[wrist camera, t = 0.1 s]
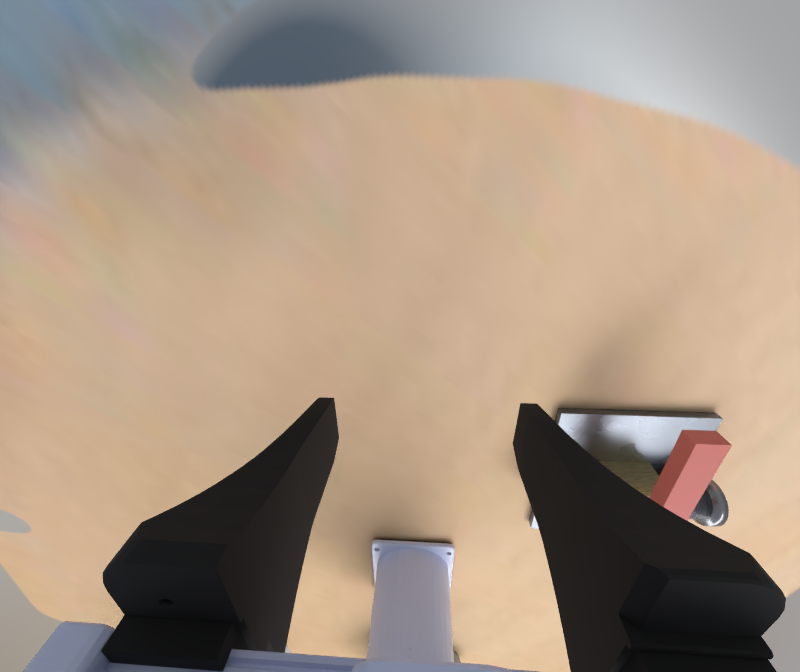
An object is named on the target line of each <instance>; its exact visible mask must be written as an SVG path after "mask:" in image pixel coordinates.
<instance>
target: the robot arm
mask: <svg viewBox="0 0 800 672" xmlns="http://www.w3.org/2000/svg"><path fill="white" fill-rule="evenodd" d="M338 440H339V434H338V426H337V418H336V410H335V402H334V398H318V399H317V400H316V401H315V402H314V403H313V404H312V405H311V406H310V407H309V408H308V409H307V410H306V411H305V412H304V413H303V414H302V415H301V416H300V417H299V418H298V419H297V420H296V421H295V422H294V423H293V424H292V425H291V426H290V427H289V428H288V429H287V430H286V431H285V432H284V433H283V434H282V435H281V436H279V437H278V438H277V439H276V440H275V441H274V442H273V443H272V444H270V445H269V446H268V447H267V448H266V449H265V450H263V451H262V452H261V453H260V454H259V455H257V456H256V457H255V458H253V459H252V460H251V461H249V462H248V463H247V464H245V465H244V466H242V467H241V468H240V469H238V470H237V471H235V472H234V473H232V474H230V475H229V476H227V477H226V478H224V479H223V480H221V481H220V482H218V483H217V484H215V485H213V486H212V487H210V488H208V489H207V490H205V491H203V492H201V493H200V494H198V495H196V496H194V497H192V498H191V499H189V500H187V501H185V502H183V503H181V504H179V505H177V506H175V507H173V508H171V509H169V510H167V511H165V512H163V513H161V514H159V515H157V516H155V517H153V518H150V519H148V520H146V521H144V522H142V523H141V524H140V525H139V526H138V528H137V529H136V530H135V531H134V532H133V534H132V535H131V536H130V537H129V539H128V540H127V541H126V543H125V544H124V545H123V546H122V548H121V549H120V550H119V552H118V553H117V554H116V555H115V557H114V558H113V559H112V561H111V562H110V563H109V564H108V566H107V567H106V569H105V570H104V572H103V583H104V585H105V587H106V589H107V591H108V593H109V594H110V595H111V597H112V598H113V599H114V601H115V602H116V603H117V605H118V606H119V608H120V609H121V610H122V612H123V613H124V614H125V615H124V617H123V618H122V620H121V621H120V623H119V624H118V626H117V627H116V629H114V628H113V627H110V626H108V625H104V624H98V623H83V622H69V621H65V622H63V623H61V624H60V625H59V626H58V627H57V629H56V630H55V631H54V633H53V634H52V635H51V636H50V638H49V639H48V640H47V642H46V643H45V644H44V645H43V646H42V648H41V649H40V650H39V652H38V653H37V654H36V655H35V657H34V658H33V659H32V660H31V662H30V663H29V664H28V666H27V667H26V668H25V669H24V671H23V672H538V671H524V670H510V669H506V668H501V667H496V666H491V665H483V664H470V663H456V662H454V654H453V639H452V623H451V607H450V587H451V578H452V569H453V560H454V551H455V550H454V545H452V544H448V543H430V542H412V541H394V540H373V541H372V558H373V571H374V585H375V589H374V598H373V606H372V615H371V624H370V633H369V642H368V650H367V659H361V658H347V657H333V656H320V655H306V654H293V653H285V649H286V644H287V638H288V633H289V628H290V623H291V617H292V613H293V608H294V603H295V598H296V593H297V589H298V584H299V579H300V575H301V570H302V566H303V562H304V557H305V553H306V549H307V545H308V541H309V536H310V532H311V528H312V525H313V521H314V518H315V515H316V512H317V509H318V506H319V503H320V500H321V498H322V495H323V492H324V489H325V486H326V483H327V480H328V477H329V474H330V471H331V469H332V466H333V463H334V459H335V454H336V449H337V444H338ZM513 446H514V451H515V456H516V461H517V465H518V469H519V472H520V475H521V478H522V481H523V484H524V487H525V490H526V493H527V496H528V498H529V501H530V504H531V507H532V510H533V513H534V515H535V518H536V521H537V524H538V527H539V530H540V533H541V537H542V540H543V544H544V548H545V552H546V556H547V560H548V564H549V568H550V573H551V577H552V581H553V586H554V590H555V595H556V599H557V604H558V609H559V613H560V618H561V623H562V628H563V633H564V638H565V643H566V648H567V654H568V659H569V664H570V670H571V672H776V670H775V669H774V667H773V666H772V665H771V663H770V662H769V660H768V659H772V658H773V653H772V651H771V649H770V648H769V647H768V645H767V644H766V642H765V641H764V640H763V638H762V637H761V636H762V635H763V634H764V632H765V631H766V630H767V629H768V628H769V627H770V626H771V625H772V624H773V623H774V622H775V621H776V620H777V619H778V618H779V617H780V615H781V614H782V612H783V611H784V608H785V601H786V598H785V596H784V594H783V592H782V591H781V589H780V588H779V587H778V586H777V585H776V583H775V582H774V581H773V580H772V579H771V577H770V576H769V575H768V574H767V573H766V572H765V570H764V569H763V568H762V567H761V566H760V564H759V563H758V562H757V561H756V560H755V559H754V557H753V556H752V555H751V554H750V553H748V552H746V551H744V550H742V549H740V548H738V547H736V546H734V545H732V544H730V543H728V542H726V541H724V540H722V539H720V538H718V537H716V536H714V535H712V534H710V533H708V532H706V531H704V530H703V529H701V528H699V527H697V526H695V525H694V524H692V523H690V522H688V521H687V520H685V519H683V518H681V517H679V516H678V515H676V514H674V513H673V512H671V511H669V510H668V509H666V508H664V507H663V506H661V505H659V504H658V503H656V502H655V501H653V500H652V499H650V498H649V497H647V496H645V495H644V494H642V493H641V492H639V491H638V490H636V489H635V488H633V487H632V486H631V485H629V484H628V483H626V482H625V481H624V480H622V479H621V478H620V477H618V476H617V475H616V474H614V473H613V472H611V471H610V470H609V469H608V468H606V467H605V466H604V465H602V464H601V463H600V462H599V461H598V460H596V459H595V458H594V457H593V456H592V455H591V454H589V453H588V452H587V451H586V450H585V449H584V448H582V447H581V446H580V445H579V444H578V443H577V442H576V441H575V440H574V439H573V438H571V437H570V436H569V435H568V434H567V433H566V432H565V431H564V430H563V429H562V428H561V427H560V426H559V425H558V424H557V423H556V422H555V421H554V420H553V419H552V418H551V417H550V416H549V415H548V414H547V413H546V412H545V411H544V410H543V409H542V408H541V407H540V406H539V405H538V404H526V403H521V404H520V409H519V414H518V420H517V425H516V430H515V435H514V441H513Z"/></svg>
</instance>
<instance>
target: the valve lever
mask: <svg viewBox="0 0 800 672" xmlns="http://www.w3.org/2000/svg"><path fill="white" fill-rule="evenodd" d="M731 446H732V445H731V444H730V443H729V442H728V441H726V440H725V439H724V438H723V437H722V436H721V435H720V434H719V433H718V432H717V431H708V430H682V431H681V433H680V435H679V437H678V439H677V442H676V444H675V446H674V448H673V450H672V452H671V454H670V456H669V458H668V460H667V462H666V464H665V466H664V468H663V470H662V472H661V474H660V476H659V479H658V481H657V483H656V485H655V487H654V489H653V491H652V493H651V495H650V497H649V498H650V499H652V500H653V501H655V502H656V503H658V504H659V505H661V506H663V507H664V508H666V509H668V510H669V511H671V512H673V513H674V514H676V515H678V516H679V517H681V518H683V519H685V520H688V519H689V517H690V515H691V514H692V512H693V510H694V509H695V507H696V505H697V503H698V502H699V500H700V498H701V497H702V495H703V493H704V492H705V490H706V488H707V486H708V485H709V483H710V481H711V480H712V478H713V476H714V475H715V473H716V471H717V470H718V468H719V466H720V464H721V463H722V461H723V459H724V458H725V456H726V454H727V453H728V451H729V449H730V448H731Z"/></svg>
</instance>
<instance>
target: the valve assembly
mask: <svg viewBox="0 0 800 672" xmlns="http://www.w3.org/2000/svg"><path fill="white" fill-rule="evenodd" d="M721 421H722V418H721V417H720V416H719V415H718V414H716V413H694V412H663V411H632V410H601V409H570V408H558V412H557V416H556V420H555V422H556V423H557V424H558V425H559V426H560V427H561V428H562V429H563V430H564V431H565V432H566V433H567V434H568V435H569V436H570V437H571V438H573V439H574V440H575V441H576V442H577V443H578V444H579V445H580V446H581V447H582V448H584V449H585V450H586V451H587V452H588V453H589V454H591V455H592V456H593V457H594V458H595V459H596V460H598V461H599V462H600V463H601V464H602V465H604V466H605V467H606V468H608V469H609V470H610V471H611V472H613V473H614V474H616V475H617V476H618V477H620V478H621V479H622V480H624V481H625V482H626V483H628V484H629V485H631V486H632V487H633V488H635V489H636V490H638V491H639V492H641V493H642V494H644V495H645V496H647V497H650V495H651V493H652V491H653V489H654V487H655V485H656V483H657V481H658V479H659V476H660V474H661V472H662V470H663V468H664V466H665V464H666V462H667V460H668V458H669V456H670V454H671V452H672V450H673V448H674V446H675V444H676V442H677V439H678V437H679V435H680V433H681V431H682V430H708V431H716V430H717V428H718V426H719V425H720V423H721ZM727 518H728V504H727V500H726V498H725V496H724V494H723V492H722V490H721V489H720V487H719V486H718V485H717V484H716V483H715V482H714V481H713V480H711V481H710V483H709V485H708V486H707V488H706V490H705V492H704V493H703V495H702V497H701V498H700V500H699V502H698V503H697V505H696V507H695V509H694V510H693V512H692V514H691V515H690V517H689V519H693V520H695V521H696V522H697V523H699V524H701V525H703V526H722V525H723V524H724V523H725V522H726V521H727ZM529 523H530V527H531V528H539V527H538V524H537V521H536V518H535V515H534V513H533V510H532V512H531V516H530V520H529Z"/></svg>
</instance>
